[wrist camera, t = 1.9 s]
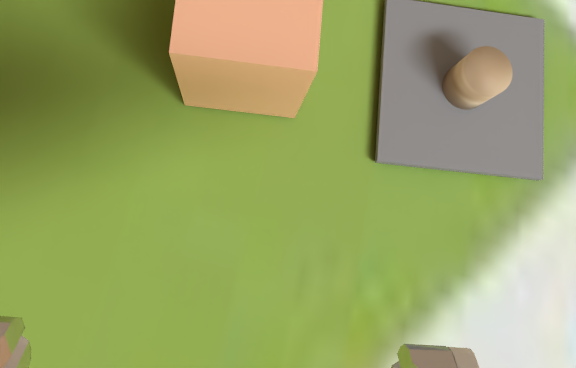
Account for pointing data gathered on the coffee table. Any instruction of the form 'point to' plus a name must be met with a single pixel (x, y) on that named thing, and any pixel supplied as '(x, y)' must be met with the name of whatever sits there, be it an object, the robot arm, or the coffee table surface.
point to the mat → (439, 111)
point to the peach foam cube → (246, 53)
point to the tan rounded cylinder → (477, 78)
